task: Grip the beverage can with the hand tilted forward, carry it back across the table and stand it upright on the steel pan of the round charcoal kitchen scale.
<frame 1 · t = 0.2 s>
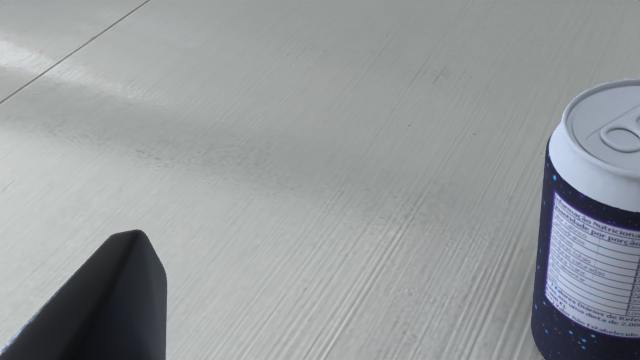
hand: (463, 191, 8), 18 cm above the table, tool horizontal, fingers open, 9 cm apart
beverage can: (598, 345, 25), on the table
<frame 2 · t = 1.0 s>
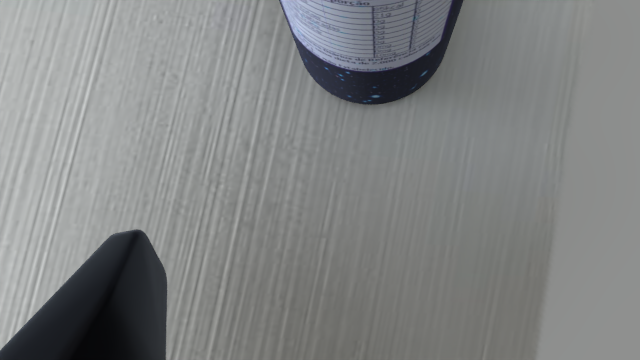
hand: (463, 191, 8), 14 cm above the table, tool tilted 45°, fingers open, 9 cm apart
beverage can: (372, 41, 23), on the table
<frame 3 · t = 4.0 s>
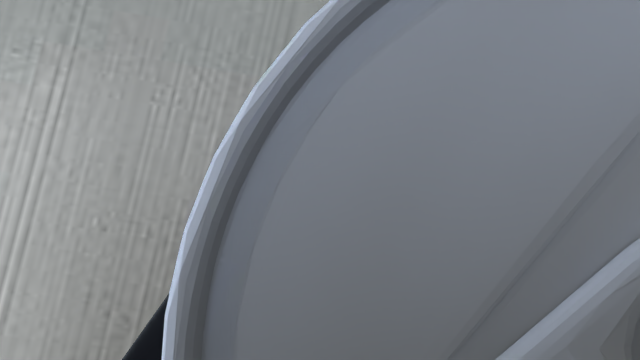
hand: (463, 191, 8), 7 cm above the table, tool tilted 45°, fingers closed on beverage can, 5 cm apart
beverage can: (432, 270, 14), on the table, touching gripper
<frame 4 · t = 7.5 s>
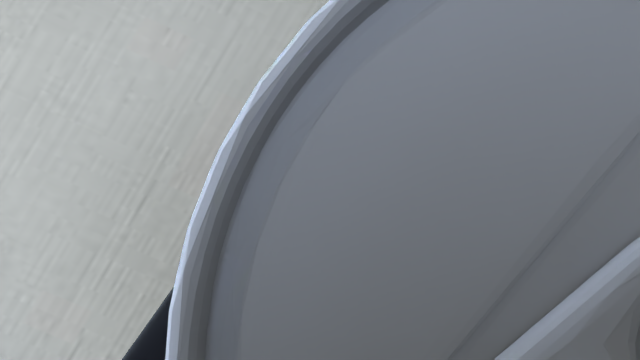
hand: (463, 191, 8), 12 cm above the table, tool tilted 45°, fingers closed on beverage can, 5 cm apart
beverage can: (433, 269, 14), point 6 cm above the table, touching gripper
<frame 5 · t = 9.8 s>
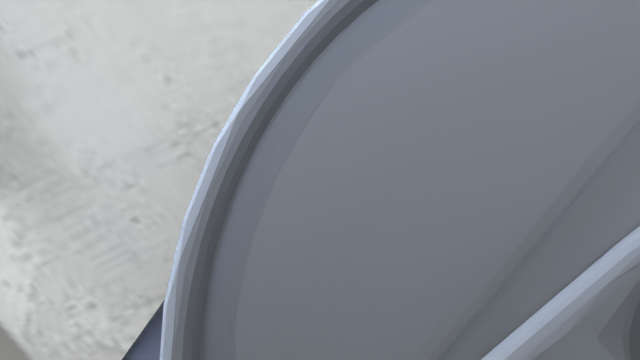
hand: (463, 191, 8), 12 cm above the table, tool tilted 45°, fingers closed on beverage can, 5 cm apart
beverage can: (432, 268, 14), point 5 cm above the table, touching gripper
when the fingers open (9 cm above the table, at t = 11.4 s): beverage can stays where it is, resting on kitchen scale.
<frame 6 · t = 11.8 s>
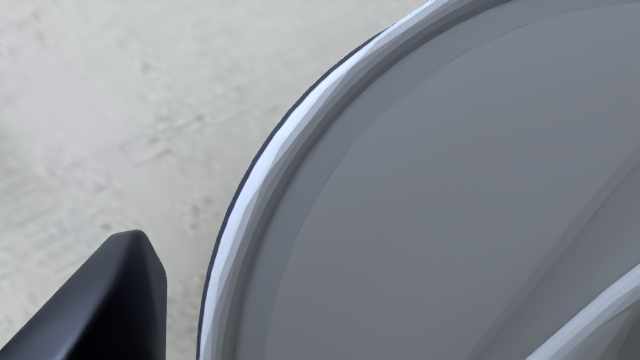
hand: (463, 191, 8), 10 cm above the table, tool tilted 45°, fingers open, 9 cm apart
beverage can: (434, 276, 15), point 2 cm above the table, touching kitchen scale
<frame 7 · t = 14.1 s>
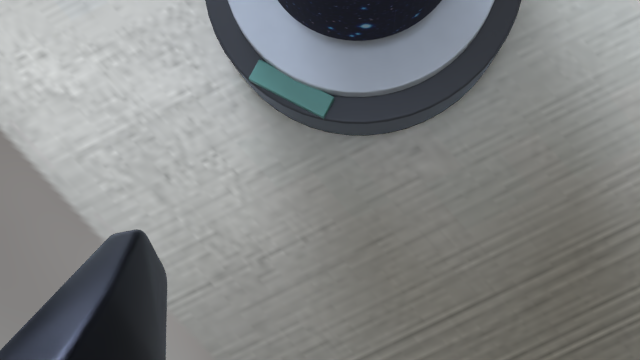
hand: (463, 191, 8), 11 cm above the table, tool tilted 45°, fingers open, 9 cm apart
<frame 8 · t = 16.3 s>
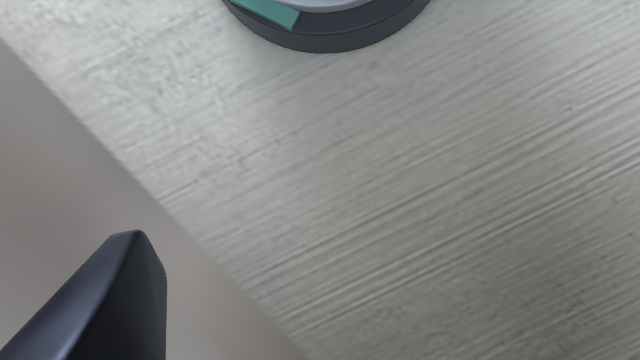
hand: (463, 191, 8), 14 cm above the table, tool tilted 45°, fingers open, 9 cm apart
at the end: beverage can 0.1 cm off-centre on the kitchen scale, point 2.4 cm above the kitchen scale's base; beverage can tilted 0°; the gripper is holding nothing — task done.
